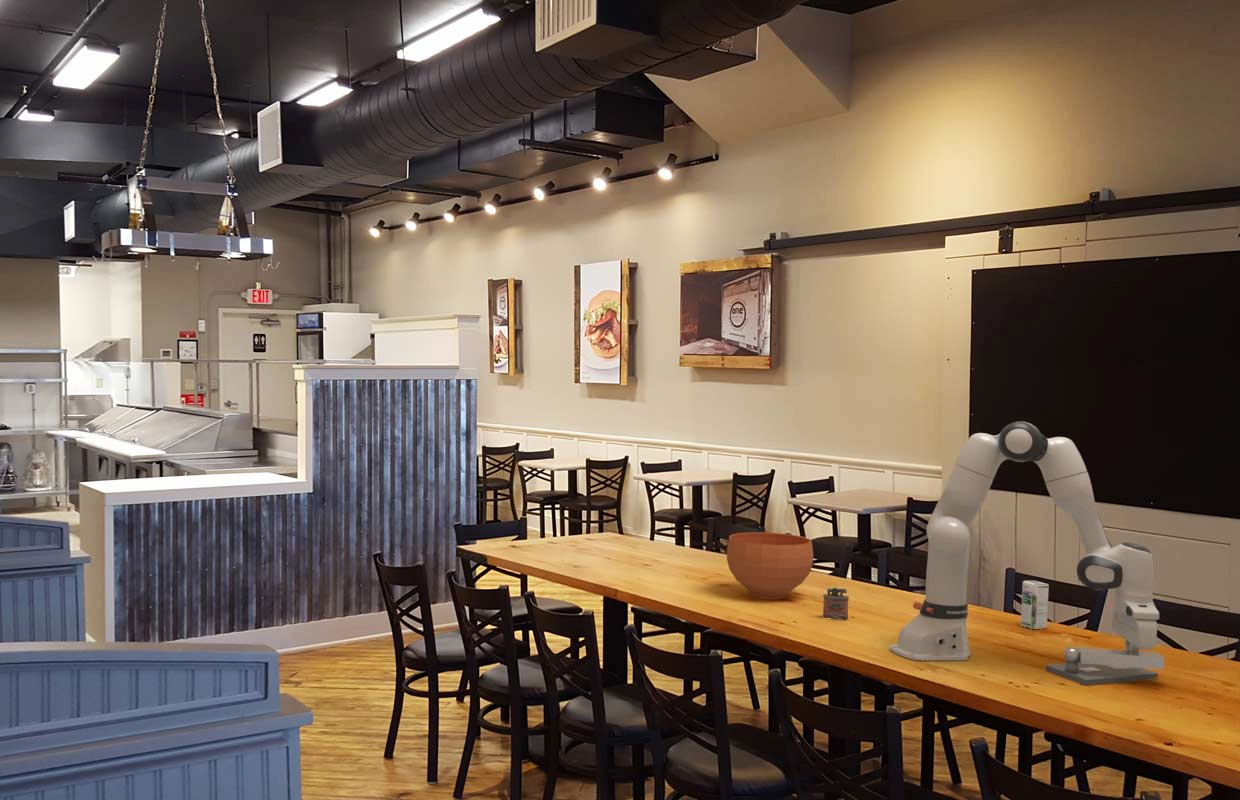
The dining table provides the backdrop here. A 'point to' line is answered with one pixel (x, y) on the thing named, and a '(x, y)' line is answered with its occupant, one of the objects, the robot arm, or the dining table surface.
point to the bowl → (769, 562)
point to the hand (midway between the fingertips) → (1131, 658)
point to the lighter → (835, 604)
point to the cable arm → (1114, 657)
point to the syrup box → (1034, 604)
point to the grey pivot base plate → (1099, 673)
